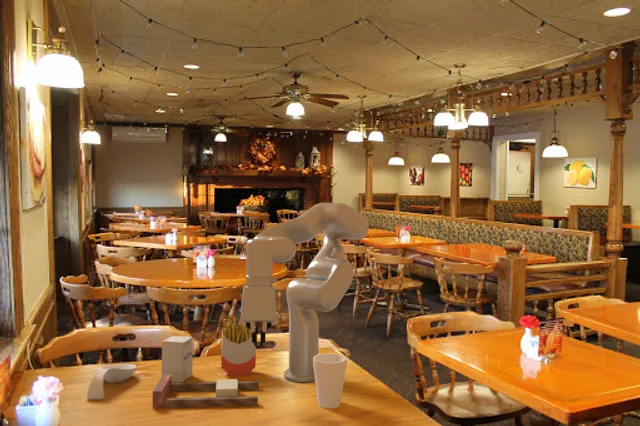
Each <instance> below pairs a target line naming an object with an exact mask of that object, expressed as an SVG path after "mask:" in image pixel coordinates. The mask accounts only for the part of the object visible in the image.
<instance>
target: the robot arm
mask: <svg viewBox="0 0 640 426" xmlns="http://www.w3.org/2000/svg"><path fill="white" fill-rule="evenodd" d="M369 227H370V226H369V222H368V219H367V218H366V217H365V216H364V215H363V214H362V213H360V212H359V211H358V210H356V209H355V208H353V207H352V206H350V205H348V204H345V203H343V202H342V203H341V202H320V203H317V204H315V205H313V206H311V207H310V208H309V209H307V210H306V211H304V212H303V213H301V214H300V215H299V216H297V217H295V218H293V219H289V220H286V221H283V222H280V223H278V224H275V225H272V226H270V227H267V228H266V229H264V230H262V231H261V232H260V233H258V234H257V235H255V237H253V238H250V239H248V240H247V241H246V244H245V246H246V248H245V262H246V263H245V285H243V288H242V294H241V307H240V317H239V320H238V322H239V324H241V325H244V326H246V327H247V328H249V329H250V330H251V332H252V343H254V346H256V347H257V346H258V330H257V327H256V328H255V326H256V323H257V322H261V323H262V326H261V329H260V342H259V343H260V345H259V346H260V347H264V343H266V332H267V331H268V330H269V329H270V328H271V327H273V326H275V325H278V324H279V323H280V321H279V318H278V314H277V312H278V311H277V310H278V309H277V308H278V307H277V305H278V304H277V294H276V293H277V290H276V286H275V285H273V284H274V283H278V277H275V276H273V263H287V262H290V261H291V260H293V259H294V257H295V256H296V253H297V247H296V245H297V244H303V243H308V242H310V241H312V240H313V239H314V238H316V237H317V236H318V235H320V234H321V233H322V245H321V248H320V250H319V251H318V253H316V255H315V256H314V258H313V259H312V260H311V262H309V264H308V267H307V268H306V271H305V277H306V278H305V277H299V278H298V277H297V278H295V279H292V280H291V281H290V282H289V283H288V285H287V287H286V291H285V293H286V295H285V296H286V302H287V307H288V317H289V318H288V320H289V322H288V326H289V327H288V369H286V370H285V371H283V377H284V378H285V379H286V380H289V381H292V382H297V383H312V382H315V375H314V368H313V357H314V356H316V355H318V354H319V333H320V332H319V331H320V328H319V327H320V324H319V323H320V322H319V318H318V315H317V312H316V311H318V312H326V313H328V312H333V310H335V308H336V307H337V306H338V305H339V303H340V301H342V299H343V297H344V296H345V294H346V293H347V291H348V289H349V288H350V287H351V285H352V283H353V279H354V273H355V272H354V267H353V264H352V263H351V262H350V261H349V260H347V259H345V256H346V255H345V249H344V246H343V245H342V243H341V240H354V241H356V240H359V241H360V240H363V239H365V237H366V236H367V235H368V234H369Z"/></svg>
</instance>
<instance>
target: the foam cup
mask: <svg viewBox="0 0 640 426" xmlns="http://www.w3.org/2000/svg"><path fill="white" fill-rule="evenodd" d="M347 360H348V359H347V357H346V356H345V355H343V354H339V353H328V352H327V353H318V355H316V356H314V357H313V368H314V375H315V381H314V382H315V389H316V391H315V392H316V399H317V405H318V406H319V407H320V408H323V409H336V408H340V407H341V404H342V397H343V389H344V383H345V374H346V369H347Z"/></svg>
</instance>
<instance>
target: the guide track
mask: <svg viewBox="0 0 640 426" xmlns="http://www.w3.org/2000/svg"><path fill="white" fill-rule="evenodd" d="M216 384H217V381H202V382H200V381H199V382H198V381H197V382H183V383H180V382H171V375H162V374H161V377H160V379H159V380H158V382H157V384H156V385H155V387H154V388H153V390H152V409H156V408H157V409H159V408H198V407H199V408H201V407H202V408H203V407H204V408H206V407H207V408H208V407H210V408H211V407H213V408H214V407H250V406H251V407H253V406H254V407H255V406H257V407H258V404H259V403H258V402H259V398H258V397H259V396H237V397H216V396H214V397H208V396H207V397H169V395H170V393H171V392H197V391H199V392H201V391H204V392H206V391H216ZM248 390H249V391H251V390H252V391H253V390H255V391H256V390H258V391H259V390H260V381H259V380H258V381H255V380H253V381H238V391H248Z"/></svg>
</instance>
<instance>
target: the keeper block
mask: <svg viewBox="0 0 640 426" xmlns="http://www.w3.org/2000/svg"><path fill="white" fill-rule="evenodd" d="M216 382H217V384H216V390H215V397H238V391H239V390H238V382H239V381H238V378H235V379H233V378H231V379H216Z"/></svg>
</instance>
